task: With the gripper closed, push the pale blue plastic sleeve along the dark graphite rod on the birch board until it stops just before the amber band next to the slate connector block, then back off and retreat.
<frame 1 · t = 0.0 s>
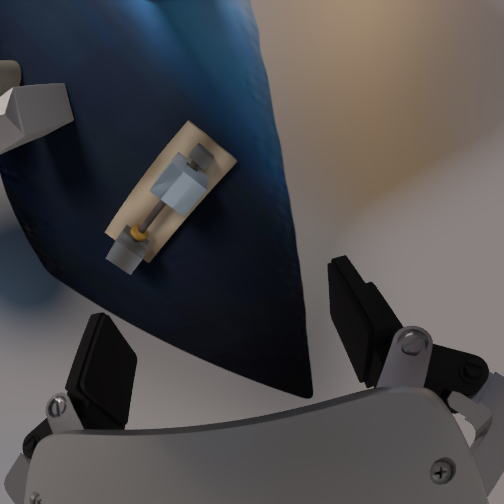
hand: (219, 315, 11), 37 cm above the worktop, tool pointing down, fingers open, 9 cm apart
slider mechanism: (165, 195, 46), on the worktop
milk carton: (54, 109, 35), on the worktop
travel mug: (8, 80, 30), on the worktop
sleeve: (180, 182, 40), point 5 cm above the worktop, slide at 0.0 cm
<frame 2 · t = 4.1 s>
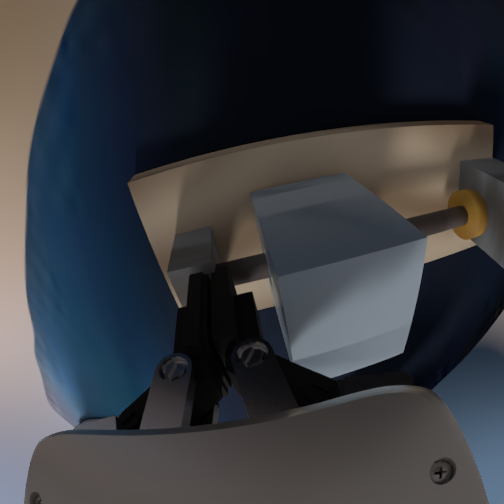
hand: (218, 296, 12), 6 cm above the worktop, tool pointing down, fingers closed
slider mechanism: (352, 206, 17), on the worktop
sleeve: (327, 270, 13), point 5 cm above the worktop, slide at 1.3 cm, touching gripper
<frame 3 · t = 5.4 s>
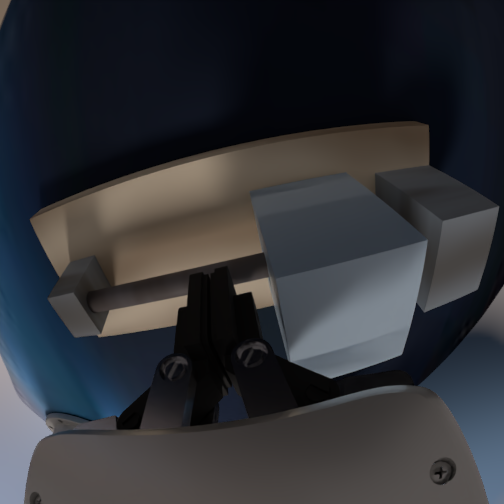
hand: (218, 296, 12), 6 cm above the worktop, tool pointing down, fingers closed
slider mechanism: (239, 230, 17), on the worktop
sleeve: (326, 270, 12), point 6 cm above the worktop, slide at 8.5 cm, touching slider mechanism, gripper
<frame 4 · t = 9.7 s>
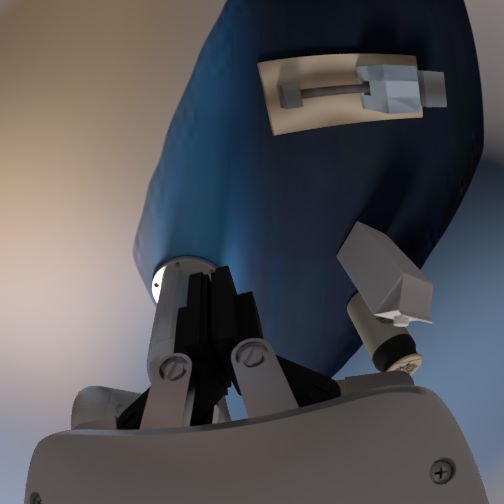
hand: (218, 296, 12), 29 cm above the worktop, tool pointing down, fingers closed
slider mechanism: (348, 87, 34), on the worktop
milk carton: (360, 244, 48), on the worktop
travel mug: (364, 301, 55), on the worktop
sleeve: (388, 87, 29), point 5 cm above the worktop, slide at 8.3 cm
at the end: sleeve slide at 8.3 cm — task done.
